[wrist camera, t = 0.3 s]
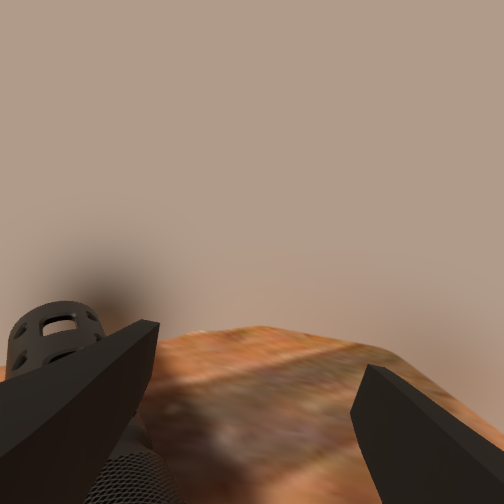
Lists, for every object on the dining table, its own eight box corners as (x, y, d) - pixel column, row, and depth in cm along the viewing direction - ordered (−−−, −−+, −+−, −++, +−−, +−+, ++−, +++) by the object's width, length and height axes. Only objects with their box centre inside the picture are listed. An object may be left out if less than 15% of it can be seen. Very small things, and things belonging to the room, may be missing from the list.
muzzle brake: (103, 359, 37) (101, 291, 34) (202, 624, 16) (217, 509, 14) (11, 387, 31) (-2, 307, 28) (-16, 862, 10) (-71, 744, 7)
